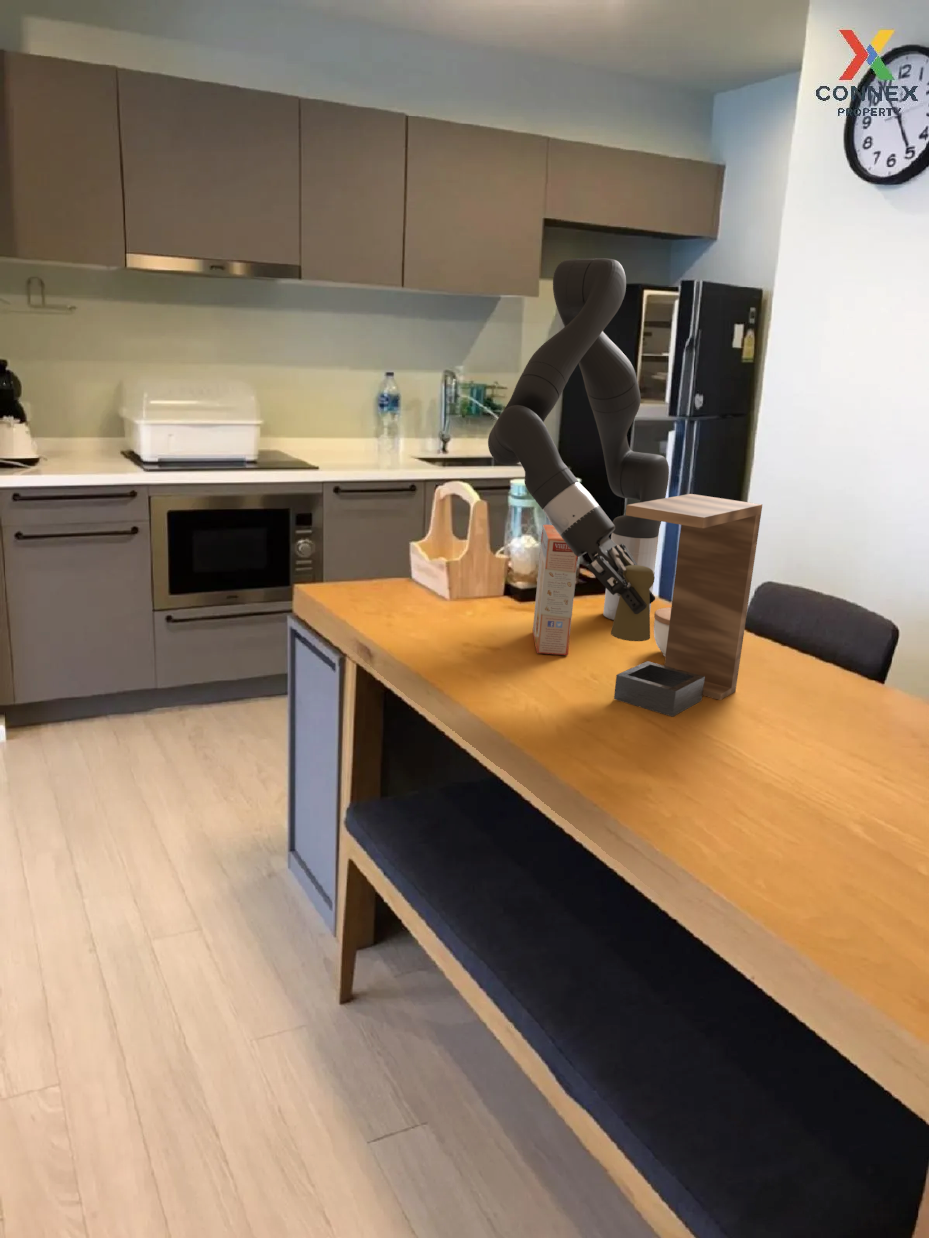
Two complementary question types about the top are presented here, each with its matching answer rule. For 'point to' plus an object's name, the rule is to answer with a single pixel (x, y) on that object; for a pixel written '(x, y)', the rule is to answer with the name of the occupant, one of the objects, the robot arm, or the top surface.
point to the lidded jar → (662, 628)
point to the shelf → (708, 584)
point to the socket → (659, 688)
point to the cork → (625, 619)
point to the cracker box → (554, 594)
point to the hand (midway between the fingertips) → (646, 606)
